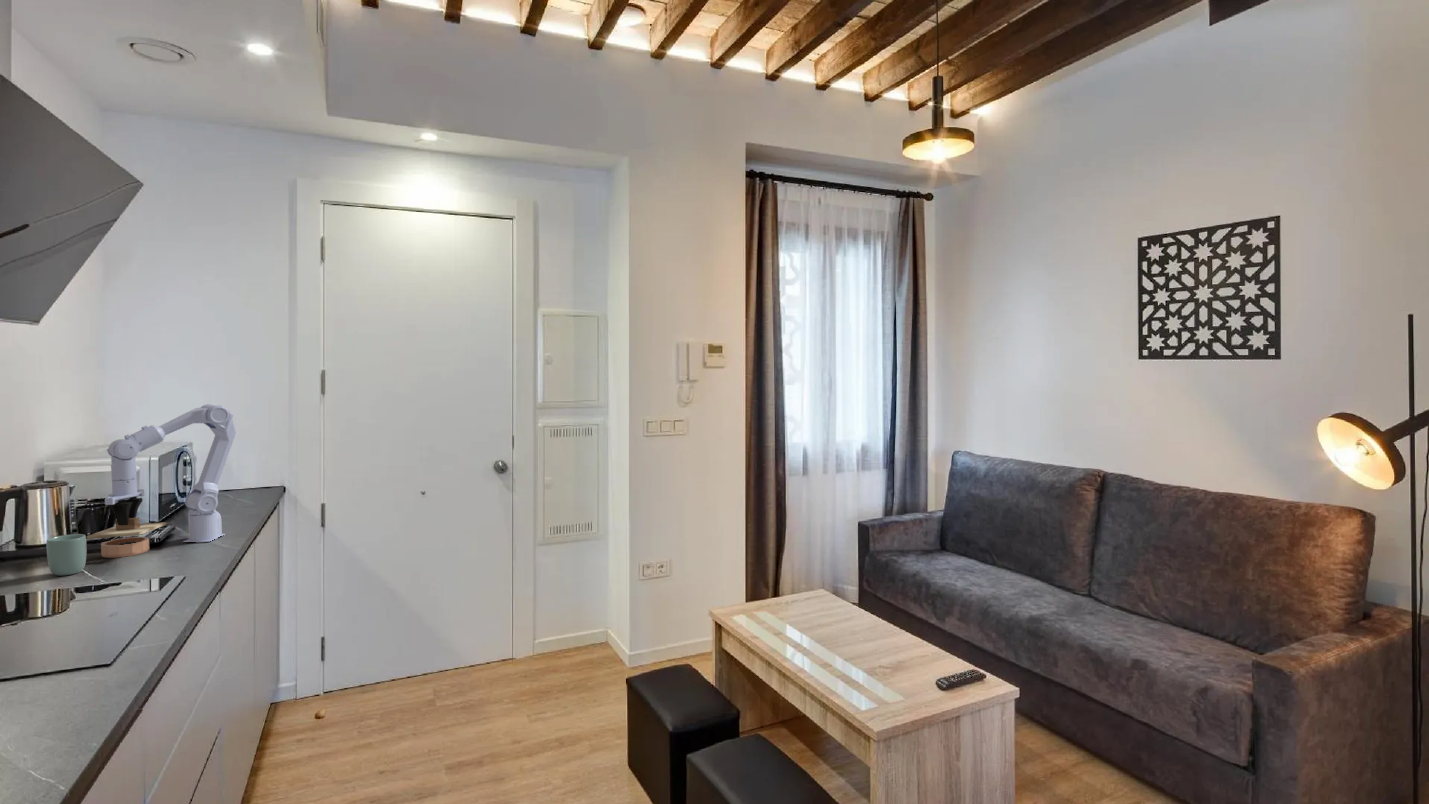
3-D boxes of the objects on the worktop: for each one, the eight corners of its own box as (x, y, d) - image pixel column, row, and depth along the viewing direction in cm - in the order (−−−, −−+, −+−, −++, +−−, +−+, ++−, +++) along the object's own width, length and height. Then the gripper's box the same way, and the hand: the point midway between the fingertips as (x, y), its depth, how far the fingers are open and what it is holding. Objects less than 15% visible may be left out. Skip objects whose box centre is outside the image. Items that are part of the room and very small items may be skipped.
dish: (117, 548, 213) (117, 537, 213) (157, 547, 215) (157, 536, 215) (92, 558, 202) (91, 546, 202) (134, 556, 204) (134, 545, 204)
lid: (118, 528, 213) (116, 515, 213) (166, 524, 216) (165, 512, 215) (86, 538, 200) (85, 525, 200) (139, 534, 202) (138, 522, 202)
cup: (55, 571, 190) (54, 535, 189) (92, 568, 193) (90, 532, 192) (42, 579, 182) (40, 542, 182) (80, 575, 186) (78, 539, 185)
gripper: (125, 475, 213) (127, 519, 214) (92, 483, 199) (94, 530, 200) (150, 475, 215) (152, 518, 215) (119, 483, 200) (121, 529, 201)
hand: (126, 524), depth 208 cm, fingers closed on lid, 2 cm apart
